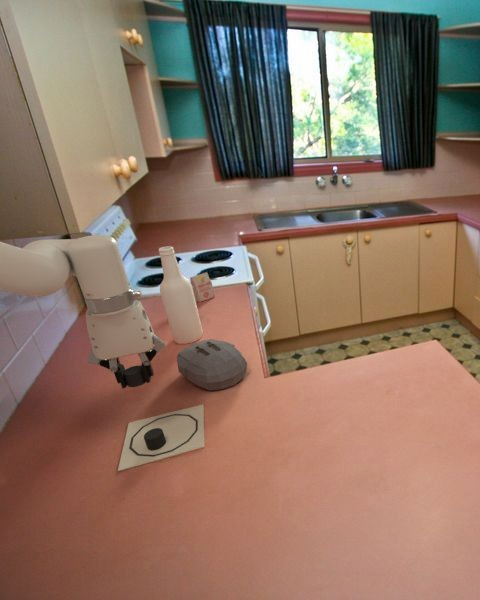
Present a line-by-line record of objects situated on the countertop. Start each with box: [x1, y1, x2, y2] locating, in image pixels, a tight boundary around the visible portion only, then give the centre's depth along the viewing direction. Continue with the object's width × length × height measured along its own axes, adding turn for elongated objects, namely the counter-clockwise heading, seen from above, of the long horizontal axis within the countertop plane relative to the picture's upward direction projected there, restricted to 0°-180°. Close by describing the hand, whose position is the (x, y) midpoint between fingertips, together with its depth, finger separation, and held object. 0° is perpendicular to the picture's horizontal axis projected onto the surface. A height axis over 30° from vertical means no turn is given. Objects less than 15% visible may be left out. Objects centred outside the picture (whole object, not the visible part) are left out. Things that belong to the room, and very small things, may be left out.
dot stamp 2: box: [144, 428, 166, 451], centre depth 91 cm, size 4×4×3 cm
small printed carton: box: [189, 272, 216, 304], centre depth 164 cm, size 4×7×10 cm, turn 144°
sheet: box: [117, 403, 206, 473], centre depth 94 cm, size 16×16×1 cm
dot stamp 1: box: [123, 365, 146, 388], centre depth 87 cm, size 4×4×3 cm
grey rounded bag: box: [176, 338, 248, 391], centre depth 115 cm, size 15×8×20 cm
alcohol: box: [158, 245, 204, 345], centre depth 130 cm, size 9×9×30 cm
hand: (137, 381), depth 88 cm, fingers closed on dot stamp 1, 3 cm apart
